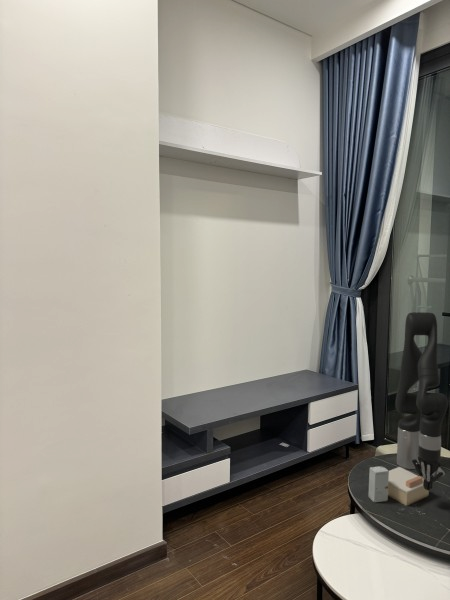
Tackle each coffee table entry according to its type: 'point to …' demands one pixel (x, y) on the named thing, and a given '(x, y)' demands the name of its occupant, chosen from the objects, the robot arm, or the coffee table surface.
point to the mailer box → (407, 494)
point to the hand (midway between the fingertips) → (427, 489)
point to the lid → (404, 480)
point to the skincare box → (378, 484)
